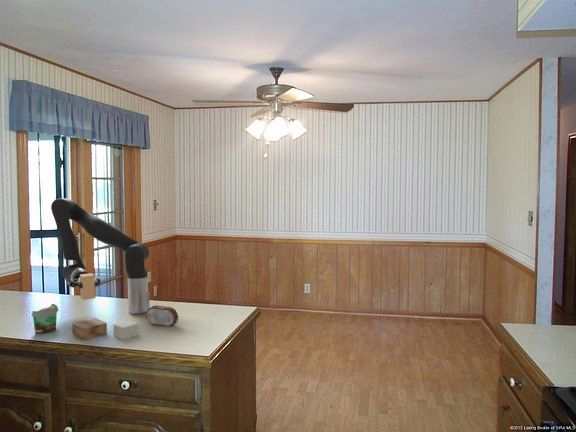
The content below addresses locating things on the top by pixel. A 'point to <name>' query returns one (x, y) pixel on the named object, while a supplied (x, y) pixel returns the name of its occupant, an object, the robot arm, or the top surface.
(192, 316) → the top surface
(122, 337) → the grey block
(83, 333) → the walnut block
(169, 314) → the tin
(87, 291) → the ochre pillar
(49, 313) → the food container
